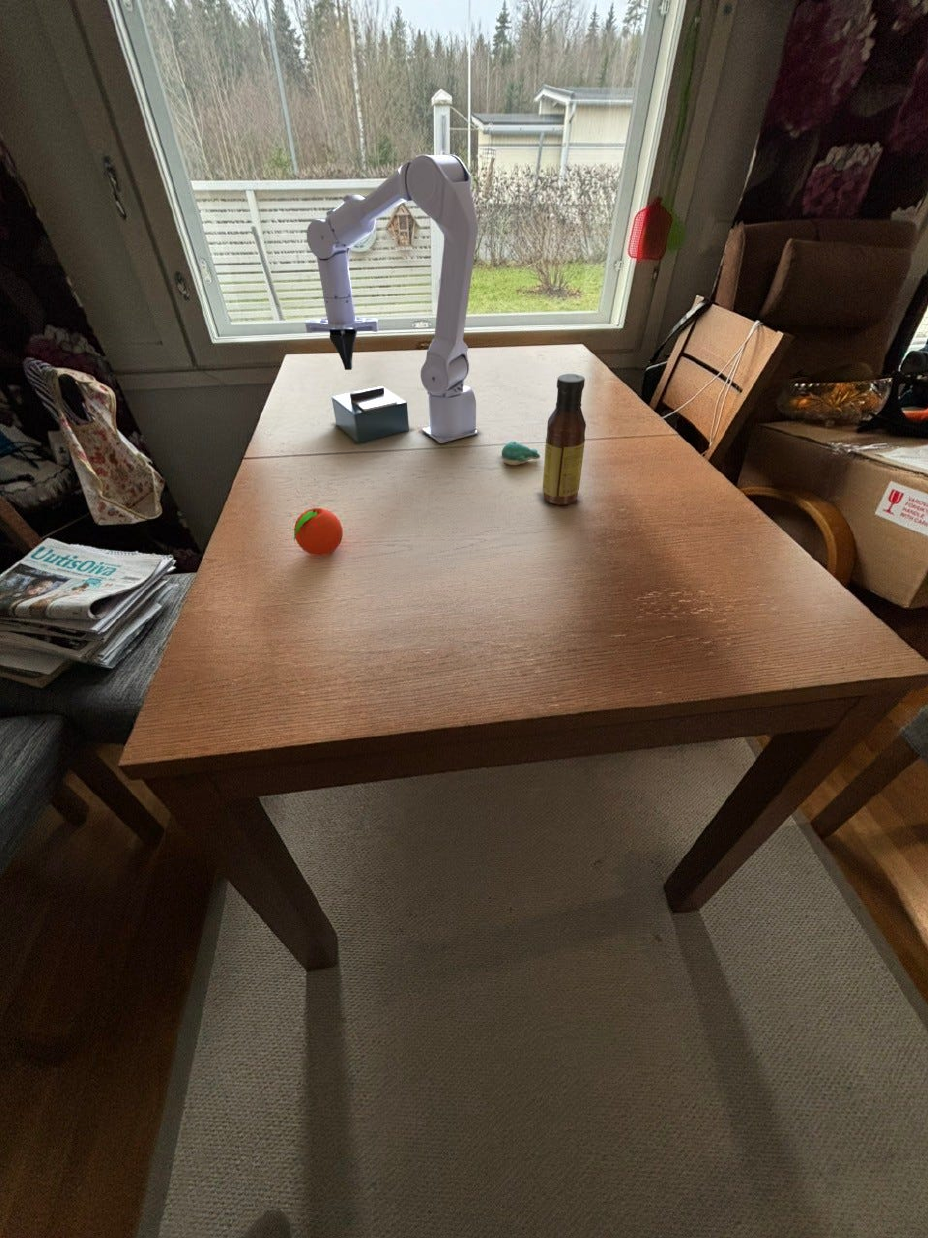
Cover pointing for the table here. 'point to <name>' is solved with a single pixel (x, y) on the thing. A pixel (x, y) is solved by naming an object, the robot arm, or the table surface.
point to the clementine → (318, 531)
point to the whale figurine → (518, 453)
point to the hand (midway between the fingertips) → (348, 368)
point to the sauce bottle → (565, 442)
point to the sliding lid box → (370, 418)
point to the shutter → (371, 399)
